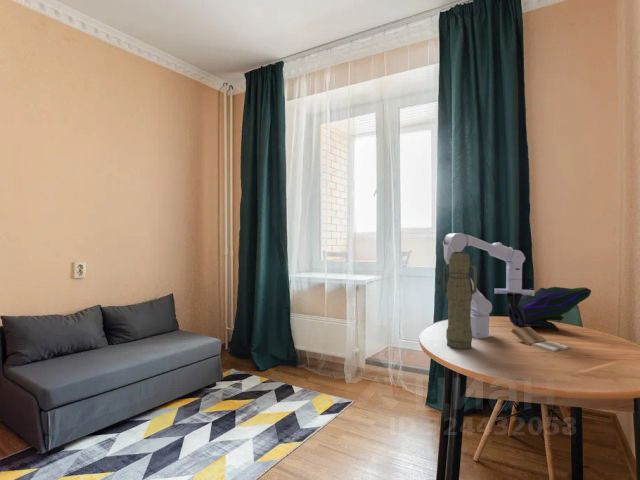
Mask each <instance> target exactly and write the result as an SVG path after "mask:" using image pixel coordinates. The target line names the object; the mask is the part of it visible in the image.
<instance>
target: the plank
mask: <svg viewBox="0 0 640 480" xmlns="http://www.w3.org/2000/svg"><path fill="white" fill-rule="evenodd" d="M510 332H511V333H512V334H513V335H515V336H516V337H517V338H518V339H519V340H521V341H522V342H523V343H524V344H526V345H527V346H531V344H533V343H538V342H543V341H547V339H545V337H544V336H542V335H540V334H539V333H538V332H536V331H535V330H534V329H533V328H532V327H531V326H524V327H523V326H522V327H518V328H512V329H511V331H510Z"/></svg>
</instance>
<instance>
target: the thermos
mask: <svg viewBox="0 0 640 480" xmlns="http://www.w3.org/2000/svg"><path fill="white" fill-rule="evenodd" d="M447 267H448V273H449V274H448V281H447V282H446V268H447ZM471 268H472V270H473V283H474V291H473V290H472V283H471V280H470V279H472V278H471V271H472V270H471ZM477 277H478V269H477V267H476V266H475V265H473V264H471V257H470V254H469V252H466V251H461V252H453V253H451V255H450V258H449V264H447V263H445V264H444V265H443V267H442V291H443V292H445V293H446V299H447V301H448V302H447V304H448V305H447V328H446V331H445V332H446V347H448V346H449V347H448V348H450V347H451V349H454V350H460V349H462V351H463V350H464V351H465V350H466V349H467V350H471V349H472V347H473V346H472V341H473V337H472V330H471V301H472V294H474V293H475V292H476V291H477V290H476V287H477V282H478V281H477V279H478V278H477ZM446 283H447V284H446Z"/></svg>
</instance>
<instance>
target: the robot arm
mask: <svg viewBox="0 0 640 480" xmlns="http://www.w3.org/2000/svg"><path fill="white" fill-rule="evenodd" d="M442 245H443V258H444V261H445V264H449V258H450V255H451V253H453V252H463V250H464V248H465V247H469V246H471V247H474V248H477V249H481V250H483V251H486V252H487V253H488V255H489V256H490V257H493V258H496V259H499V260H502V261H504V262H505V263H506V267H505V269H506V271H505V272H506V276H505V277H506V278H505V279H506V281H505V282H506V283H505V284H506V286H505V288H494V290H493V291H494V293H493V294H503V295H506V297H507V299H508V302H509V304H511V308H512V312H515V313H516V309H517V305H518V303H519V301H520V299H521V297H522V296H523V295H529V296H530V295H531V296H534V293H535V290H533V289H532V290H529V289H523V265H524V264H523V263H524V262H525V261H526V256H525V253H523V251H521V250H520V249H513V247H512V246H509V247H508V246H506V245H503V243H502V242H499V241H498V242H493V243H489V242H487V241H484V240H482V239H480V238H478V237H475V236H472V235H470V234H465V233H462V232H456V233H455V232H454V233H453V232H450V233H448V234H446V235H445V236H444V239H443V241H442ZM470 280H471V283H472V290H473V291H474V280H473V279H472V278H471V279H470ZM476 290H477V291H476V292H475V293H474V294H472V301H471V330H472V338H474V339H475V338H476V339H484V338H490V337H494V334H491V333H490V314H491V313H492V310H493V304H492V303H491V301H490V300H488V299H487V298H486V297H485V296H484V295H483V293H481V292H480V291H479V289H478V288H477V286H476Z"/></svg>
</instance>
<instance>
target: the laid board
mask: <svg viewBox="0 0 640 480" xmlns="http://www.w3.org/2000/svg"><path fill="white" fill-rule="evenodd" d="M530 346H531V347H534V348H538V349H541V350H544V351H545V350H546V351H548V352H553V353H555V352H558V351H562V350H566V349H567V350H568V349H570V348H571V346H570V345H567V344H562V343H559V342H555V341H554V342H553V341H550V340H546V341H543V342H538V343H533V344H531V345H530Z"/></svg>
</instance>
